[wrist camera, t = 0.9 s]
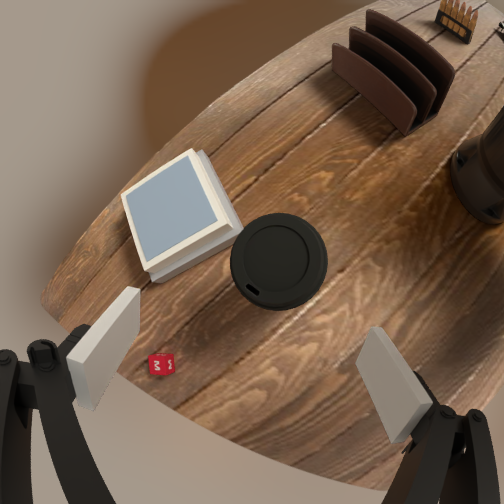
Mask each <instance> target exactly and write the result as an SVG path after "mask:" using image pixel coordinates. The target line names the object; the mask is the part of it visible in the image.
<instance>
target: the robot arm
mask: <svg viewBox="0 0 504 504" xmlns="http://www.w3.org/2000/svg"><path fill="white" fill-rule="evenodd" d="M450 173H451V179H452V183H453V186H454V189H455V192H456V194H457V196H458V198H459V199H460V201H461V202H462V204H463V205H464V207H465V208H466V209H467V210H468V211H469V212H470V213H471V214H472V215H473V216H474V217H476V218H477V219H479V220H480V221H482V222H485V223H488V224H499V223H502V222H504V106H503V108H502V109H501V110H500V112H499V113H498V115H497V116H496V117H495V119H494V120H493V121H492V122H491V124H490V125H489V126H488V127H487V129H486V130H485V131H484V133H483V134H481V135H478V136H476V137H473V138H471V139H469V140H466V141H465V142H463V143H462V144H461V145H460V146H459V147H458V149H457V150H456V151H455V153H454V154H453V157H452V160H451V165H450ZM139 332H140V289H138V288H133V287H129V286H127V288H126V289H125V290H124V291H123V292H122V293H121V294H120V295H119V296H118V297H117V298H116V300H115V301H114V302H113V303H112V304H111V305H110V306H109V307H108V309H107V310H106V311H105V312H104V313H103V314H102V315H101V316H100V318H99V319H98V320H97V321H96V322H95V323H94V324H93V326H89V325H86V324H82V325H80V326H78V327H76V328H75V329H74V330H73V331H72V332H71V333H70V335H69V336H68V337H67V338H66V339H65V340H64V341H63V342H62V343H61V344H60V346H59V347H58V348H57V346H56V345H55V343H53V342H52V341H49V340H46V339H45V340H44V339H43V340H41V339H40V340H36V341H34V342H32V343H31V344H30V345H29V346H28V348H27V354H28V357H29V360H30V363H28V362H22V361H18V358H17V356H16V354H15V353H14V352H13V351H11V350H7V349H6V350H0V504H33V499H32V498H33V497H32V486H31V485H32V484H31V426H32V412H33V409H38V410H39V413H40V418H41V422H42V426H43V430H44V434H45V438H46V441H47V445H48V448H49V452H50V455H51V458H52V461H53V464H54V467H55V470H56V473H57V476H58V478H59V481H60V484H61V486H62V489H63V492H64V494H65V496H66V499H67V501H68V503H69V504H116V503H115V501H114V499H113V497H112V496H111V494H110V492H109V490H108V488H107V486H106V484H105V482H104V480H103V478H102V476H101V474H100V472H99V470H98V468H97V466H96V464H95V462H94V459H93V457H92V455H91V452H90V450H89V448H88V445H87V443H86V441H85V438H84V435H83V433H82V430H81V428H80V425H79V422H78V419H77V417H76V414H75V411H74V408H73V405H72V402H73V401H74V399H75V398H76V399H77V402H78V405H79V406H81V407H84V408H86V409H89V410H92V411H94V410H95V408H96V406H97V405H98V403H99V401H100V399H101V397H102V395H103V394H104V392H105V390H106V388H107V387H108V385H109V383H110V381H111V379H112V378H113V376H114V374H115V372H116V371H117V369H118V367H119V365H120V364H121V362H122V360H123V359H124V357H125V355H126V353H127V352H128V350H129V348H130V347H131V345H132V343H133V342H134V340H135V338H136V337H137V335H138V333H139ZM355 364H356V366H357V368H358V370H359V372H360V375H361V377H362V379H363V381H364V383H365V385H366V388H367V390H368V392H369V394H370V396H371V399H372V401H373V403H374V405H375V407H376V410H377V412H378V414H379V417H380V419H381V421H382V423H383V426H384V428H385V430H386V433H387V435H388V437H389V440H390V442H391V444H394V443H400V442H404V441H405V440H406V439H407V437H408V436H409V435H410V434H411V436H412V438H413V439H412V440H411V442H410V443H409V444H408V445H407V446H406V448H405V449H404V450H403V451H402V454H403V453H404V452H405V451H406V453H405V455H404V457H403V460H402V462H401V464H400V467H399V469H398V471H397V473H396V476H395V478H394V480H393V482H392V484H391V486H390V488H389V490H388V492H387V494H386V496H385V498H384V500H383V502H382V504H438V501H439V504H500V492H499V483H498V475H497V468H496V462H495V456H494V451H493V445H492V441H491V436H490V431H489V428H488V423H487V419H486V417H485V415H484V414H483V413H482V412H481V411H480V410H477V409H471V410H469V412H468V413H467V414H466V416H460V415H457V414H456V412H455V411H454V410H453V409H452V408H450V407H449V406H446V405H440V404H439V402H438V401H437V399H436V398H435V396H434V395H433V393H432V392H431V390H430V389H429V387H428V386H427V384H425V381H424V380H423V378H422V377H421V376H420V375H419V374H418V373H416V372H415V371H412V370H411V368H410V367H409V365H408V364H407V362H406V361H405V359H404V358H403V357H402V355H401V354H400V352H399V351H398V349H397V348H396V346H395V345H394V344H393V342H392V341H391V339H390V338H389V337H388V335H387V334H386V332H385V331H384V330H383V328H382V327H372V326H371V328H370V331H369V333H368V335H367V338H366V340H365V342H364V345H363V347H362V349H361V352H360V354H359V356H358V358H357V360H356V363H355ZM464 448H466V451H465V453H464ZM439 498H440V499H439Z"/></svg>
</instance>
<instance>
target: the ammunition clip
mask: <svg viewBox="0 0 504 504" xmlns="http://www.w3.org/2000/svg"><path fill="white" fill-rule="evenodd" d="M453 1H454V0H449V1H448V4H447V0H442V1H441V3H440V8H439V10H438V13H437V16H436V19H435V23H437V24H438V25H440V26H442V27H443V28H445V29H446V30H448V31H449V32H451V33H452V34H454V35H455V36H456V37H458V38H459V39H461V40H462V41H463V42H465V43H466V44H467V45H468V44H469V43H470V42H471V39H472V35H473V32H474V29H475V26H476V21H477V17H478V10H476V11H475V13H474V15H473V17H472V19H471V21H470V17H471V13H472V6H470V7H469V8H468V10H467V13H466V15H465V16H464V13H465V8H466V3H465V2H464V3H463V4H462V6H461V9H460V11H459V13H458V9H459V4H460V0H456V2H455V5H454V7H453ZM452 8H453V9H452ZM451 12H452V13H451ZM457 15H458V16H457ZM463 18H464V19H463ZM462 21H463V22H462ZM469 22H470V23H469ZM468 25H469V26H468ZM460 27H461V28H460ZM459 30H460V31H459ZM465 33H466V34H465Z"/></svg>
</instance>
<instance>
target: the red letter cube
mask: <svg viewBox="0 0 504 504" xmlns="http://www.w3.org/2000/svg"><path fill="white" fill-rule="evenodd" d="M148 359H149V368H150V374H156V375H168V374H171V373H173V372H175V367H174V356H173V354H162V353H157V354H153V355H149V356H148Z"/></svg>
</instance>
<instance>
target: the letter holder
mask: <svg viewBox="0 0 504 504" xmlns="http://www.w3.org/2000/svg"><path fill="white" fill-rule="evenodd" d="M332 70H333V71H334V72H335V73H337V74H338V75H339V76H340V77H342V78H343V79H344V80H345V81H346V82H348V83H349V84H350V85H351V86H352V87H354V88H355V89H356V90H357V91H358V92H359V93H360V94H362V95H363V96H364V97H365V98H366V99H367V100H368V101H369V102H371V103H372V104H373V105H374V106H375V107H376V108H377V109H378V110H379V111H380V112H381V113H382V114H383V115H384V116H385V117H386V118H387V119H388V120H389V121H390V122H392V123H393V125H395V126H396V127H397V129H399V131H400V132H401V133H402V134H403V135H404V136H407V135H409V134H411V133H412V132H413V131H415V130H416V129H418V128H419V127H421V126H422V125H424V124H425V123H427V122H428V121H430V120H431V119H433V118H434V117H436V116H437V115H438V112H439V110H440V108H441V106H442V104H443V102H444V99H445V97H446V95H447V93H448V91H449V88H450V86H451V84H452V82H453V80H454V77H455V70H454V68H453V67H452V65H451V64H450V63H449V62H448V61H447V60H446V59H445V58H444V57H443V56H442V55H441V54H440V53H438V52H437V51H436V50H435V49H434V48H433V47H432V46H431V45H429V44H428V43H427V42H426V41H424V40H423V39H422V38H420V37H419V36H418V35H416V34H415V33H413V32H412V31H410V30H409V29H407V28H406V27H404V26H403V25H401V24H399V23H398V22H396V21H394V20H392V19H390V18H389V17H387V16H385V15H383V14H381V13H378V12H376V11H374V10H371V9H368V10H367V11H366V31H363V30H361V29H359V28H357V27H355V26H354V27H350V29H349V49H347V48H346V47H344V46H342V45H339V44H337V43H333V45H332Z"/></svg>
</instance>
